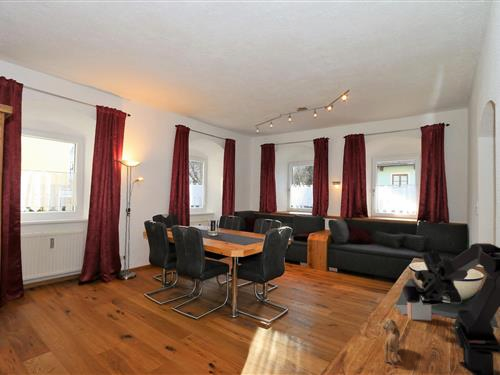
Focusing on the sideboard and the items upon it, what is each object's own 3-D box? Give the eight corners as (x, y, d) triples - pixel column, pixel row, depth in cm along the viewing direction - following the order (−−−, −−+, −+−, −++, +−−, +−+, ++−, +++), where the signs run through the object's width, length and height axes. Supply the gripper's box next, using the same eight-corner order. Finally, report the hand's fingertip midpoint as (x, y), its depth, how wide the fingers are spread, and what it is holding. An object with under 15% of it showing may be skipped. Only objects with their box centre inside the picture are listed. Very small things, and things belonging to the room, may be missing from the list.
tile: (432, 321, 112) (431, 295, 112) (411, 320, 112) (410, 295, 113) (427, 317, 115) (427, 293, 115) (407, 316, 116) (407, 292, 116)
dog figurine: (381, 341, 96) (380, 315, 96) (398, 344, 94) (398, 318, 94) (384, 366, 82) (383, 335, 83) (404, 370, 80) (404, 338, 81)
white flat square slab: (428, 315, 116) (428, 314, 116) (403, 314, 117) (403, 313, 117) (416, 306, 126) (416, 305, 126) (393, 305, 127) (393, 304, 127)
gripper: (456, 265, 105) (440, 285, 115) (404, 264, 106) (392, 284, 117) (471, 294, 97) (452, 312, 107) (414, 292, 98) (401, 310, 109)
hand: (423, 303), depth 110 cm, fingers closed
